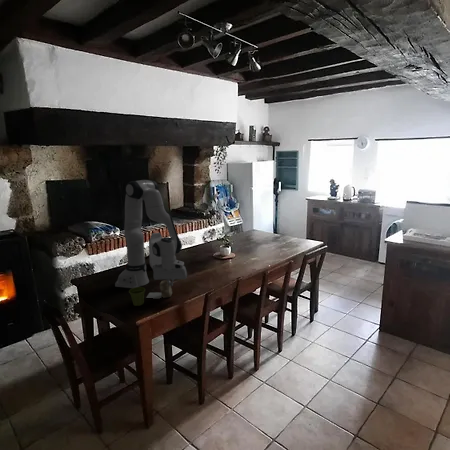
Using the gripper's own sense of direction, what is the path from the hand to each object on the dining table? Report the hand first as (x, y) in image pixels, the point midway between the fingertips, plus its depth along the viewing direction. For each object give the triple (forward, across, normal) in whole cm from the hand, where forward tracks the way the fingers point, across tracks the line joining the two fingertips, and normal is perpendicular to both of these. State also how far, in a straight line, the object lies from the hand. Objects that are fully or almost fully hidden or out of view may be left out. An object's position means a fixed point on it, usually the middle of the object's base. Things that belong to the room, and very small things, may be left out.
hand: (171, 285), depth 201 cm
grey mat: (+7, -11, +1) cm, 13 cm away
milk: (+6, -22, +55) cm, 59 cm away
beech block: (+7, -3, 0) cm, 7 cm away
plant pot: (+7, -18, -10) cm, 22 cm away
